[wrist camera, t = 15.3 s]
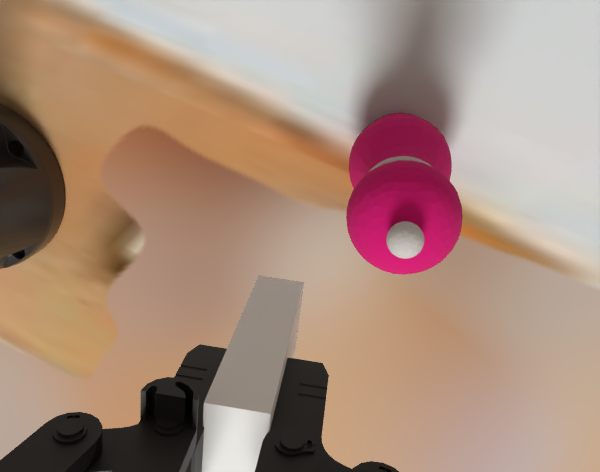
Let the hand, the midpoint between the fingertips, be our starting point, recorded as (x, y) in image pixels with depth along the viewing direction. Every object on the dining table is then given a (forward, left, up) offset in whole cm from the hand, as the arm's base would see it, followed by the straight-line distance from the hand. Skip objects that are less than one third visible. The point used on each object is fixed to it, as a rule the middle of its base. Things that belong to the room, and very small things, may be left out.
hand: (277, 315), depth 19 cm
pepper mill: (+4, 0, -28) cm, 29 cm away
